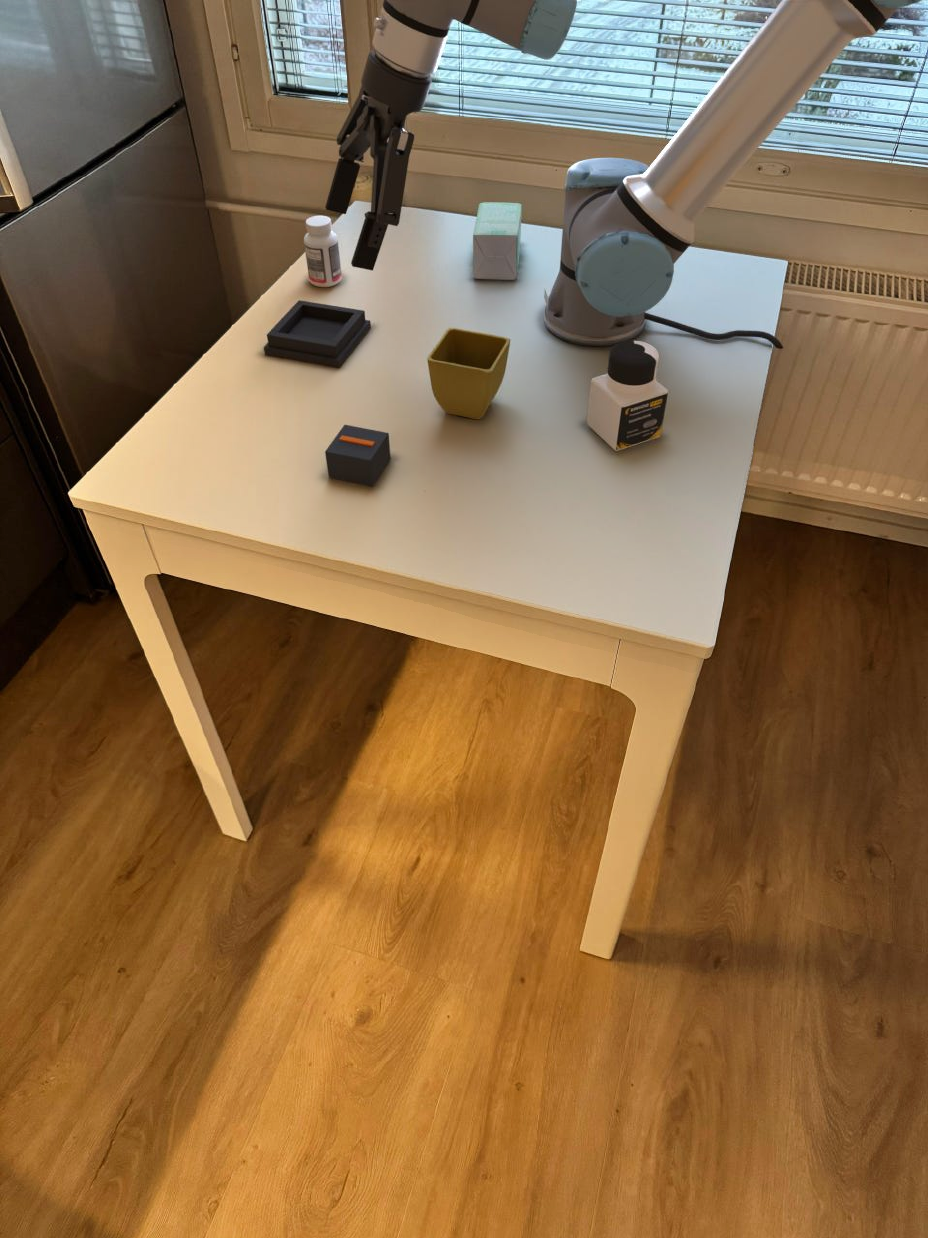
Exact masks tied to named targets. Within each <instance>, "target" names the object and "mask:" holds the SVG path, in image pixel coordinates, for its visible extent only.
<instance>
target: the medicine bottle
mask: <svg viewBox="0 0 928 1238" xmlns="http://www.w3.org/2000/svg"><path fill="white" fill-rule="evenodd" d="M659 358H660V354H659V352H658V350H657V349H656V348H655V347H654V346H653V345H651V344H649V343H647V342H645V341H640V340H629V341H623V342H620V343H618V344H615V345H612V347H611V348H610V350H609V353H608V362H607V368H606V369H607V371H606V373H605V374H602V375H598V376H595V377H593V378H592V379H591V382H590V390H589V391H590V392H589V399H588V407H587V408H588V409H587V410H588V411H587V419H586V425H587V426H588V427H589V428H590V429H591V430H592V431H593V432H594V433H596V435H598V436H599V437H600V438H601V439H602V440H603V441H604V442H605V443H606V444H607V445H608V446H609V447H610V448H612V449H613V450H614V451H615V452H619V451H623V450H625V449H628V448H631V447H634V446H637V445H640V444H642V443H645V442H649V441H652V440H655V439H657V438H660V437H661V435H662V429H663V424H664V418H665V412H666V407H667V401H668V397H669V389H667V388H666V387H664V385H662V384H661V383H660V382H659V381H657V380H656V378H657V372H658V366H659V365H658V364H659V360H660V359H659Z"/></svg>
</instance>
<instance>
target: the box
mask: <svg viewBox="0 0 928 1238" xmlns="http://www.w3.org/2000/svg"><path fill="white" fill-rule="evenodd" d="M522 210H523V205H522V204H521V203H519V202H495V201H494V202H492V201H491V202H490V201H489V202H487V201H486V202H485V201H484V202H480V203H479V204H478V207H477V214H476V217H475V223H474V228H473V232H472V233H473V234H472V256H473V257H472V266H473V268H472V269H473V278H474V279H476V280H496V281H497V280H500V281H515V280H517V278H518V274H519V273H518V272H519V265H520V255H521V239H522V238H521V236H522Z"/></svg>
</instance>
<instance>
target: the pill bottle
mask: <svg viewBox="0 0 928 1238" xmlns="http://www.w3.org/2000/svg"><path fill="white" fill-rule="evenodd" d="M305 229H306V233H305V235H304V237H303V244H304V252H305V259H306V260H305V261H306V267H307V273H308V279H309V283H310V284H312V285H313V286H315V287H319V288H329V287H333V286H336V285H337V284H339V283H340V282H341V281H342V278H343V276H342V275H343V274H342V266H341V265H342V264H341V258H340V256H341V255H340V247H339V239H338V235H337V234H336V233H335V231H333V224H332V219H331V218H330V217H329V216H326V215H313V216H310V217H308V218H307V219H306V220H305Z"/></svg>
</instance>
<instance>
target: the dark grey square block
mask: <svg viewBox="0 0 928 1238" xmlns="http://www.w3.org/2000/svg"><path fill="white" fill-rule="evenodd" d="M324 455H325V461H326V468H327V475H328V478H329V479H333V480H338V481H344V482H349V483H354V484H358V485H363V486H368V487H372V488H373V487H374V486H375V484H376V483H377V481H378V480H379V478H380V476H381V475H382V473H383V472H384V470H385V469H386V467H387V466H388V464H389V462H390V461H391V446H390V433H389V432H386V431H380V430H376V429H372V428H371V429H370V428H365V427H359V426H355V425H349V424H343V426H342V427H341V429H340V430H339V432H337V434H336V435H335V437H334V439H333V440H332V441H331V443H330V444H329V445H328V447H327V448H326V450H325V451H324Z"/></svg>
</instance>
